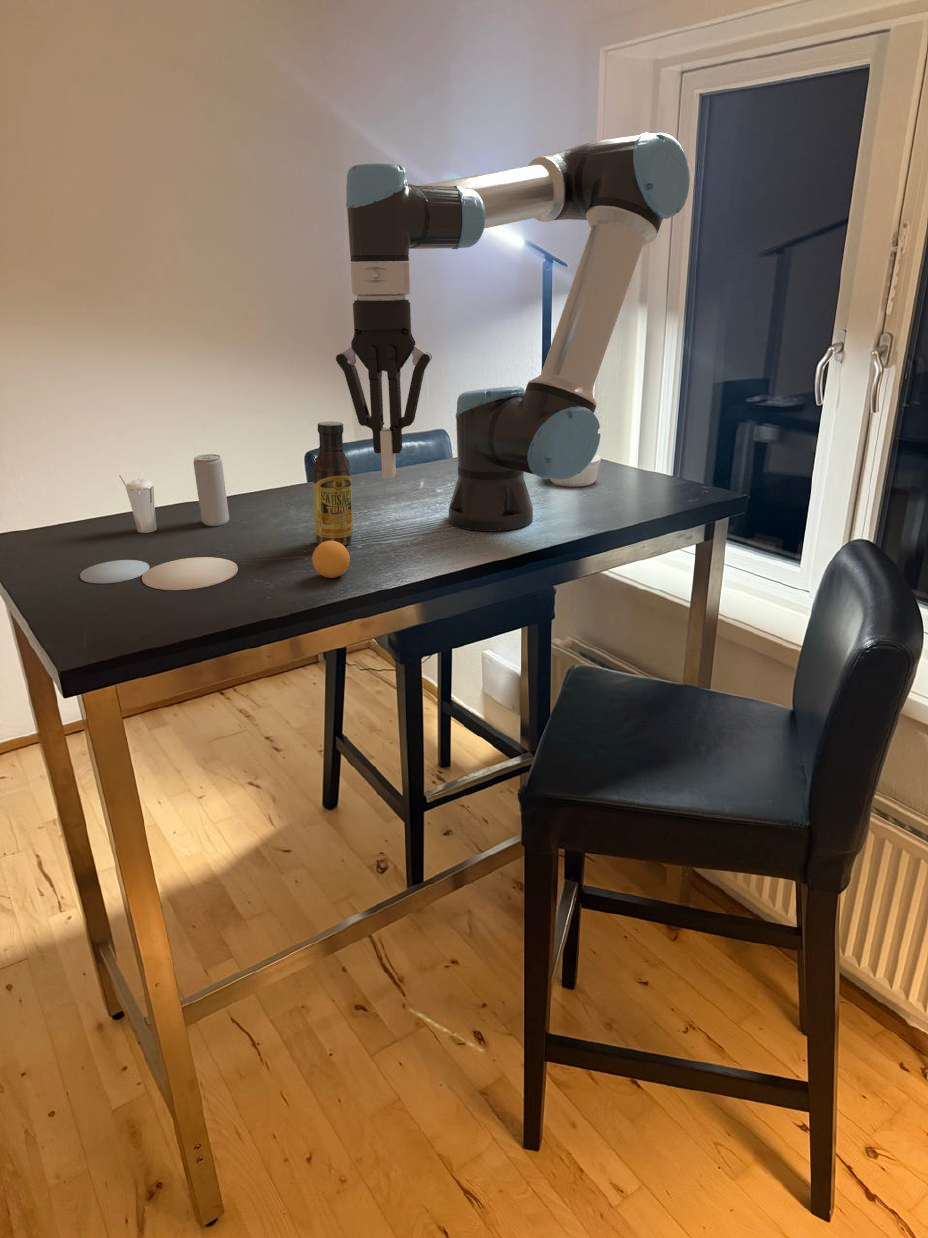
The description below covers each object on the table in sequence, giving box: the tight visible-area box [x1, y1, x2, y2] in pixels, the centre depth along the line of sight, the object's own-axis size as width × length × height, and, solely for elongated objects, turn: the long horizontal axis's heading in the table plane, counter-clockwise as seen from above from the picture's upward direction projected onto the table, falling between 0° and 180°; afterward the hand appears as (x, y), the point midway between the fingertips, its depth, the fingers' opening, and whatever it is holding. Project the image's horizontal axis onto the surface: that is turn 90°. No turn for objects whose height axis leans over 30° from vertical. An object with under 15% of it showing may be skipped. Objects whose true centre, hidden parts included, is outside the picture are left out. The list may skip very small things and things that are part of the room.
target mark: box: [141, 556, 239, 591], centre depth 130 cm, size 14×14×1 cm
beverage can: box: [193, 453, 230, 527], centre depth 152 cm, size 5×5×12 cm
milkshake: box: [119, 475, 157, 534], centre depth 149 cm, size 4×5×10 cm
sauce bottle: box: [312, 420, 354, 546], centre depth 139 cm, size 7×6×20 cm
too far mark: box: [79, 559, 151, 585], centre depth 131 cm, size 10×10×1 cm
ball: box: [312, 541, 351, 579], centre depth 127 cm, size 6×6×6 cm
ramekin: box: [549, 453, 602, 488], centre depth 178 cm, size 11×11×5 cm
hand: (389, 475), depth 121 cm, fingers closed
